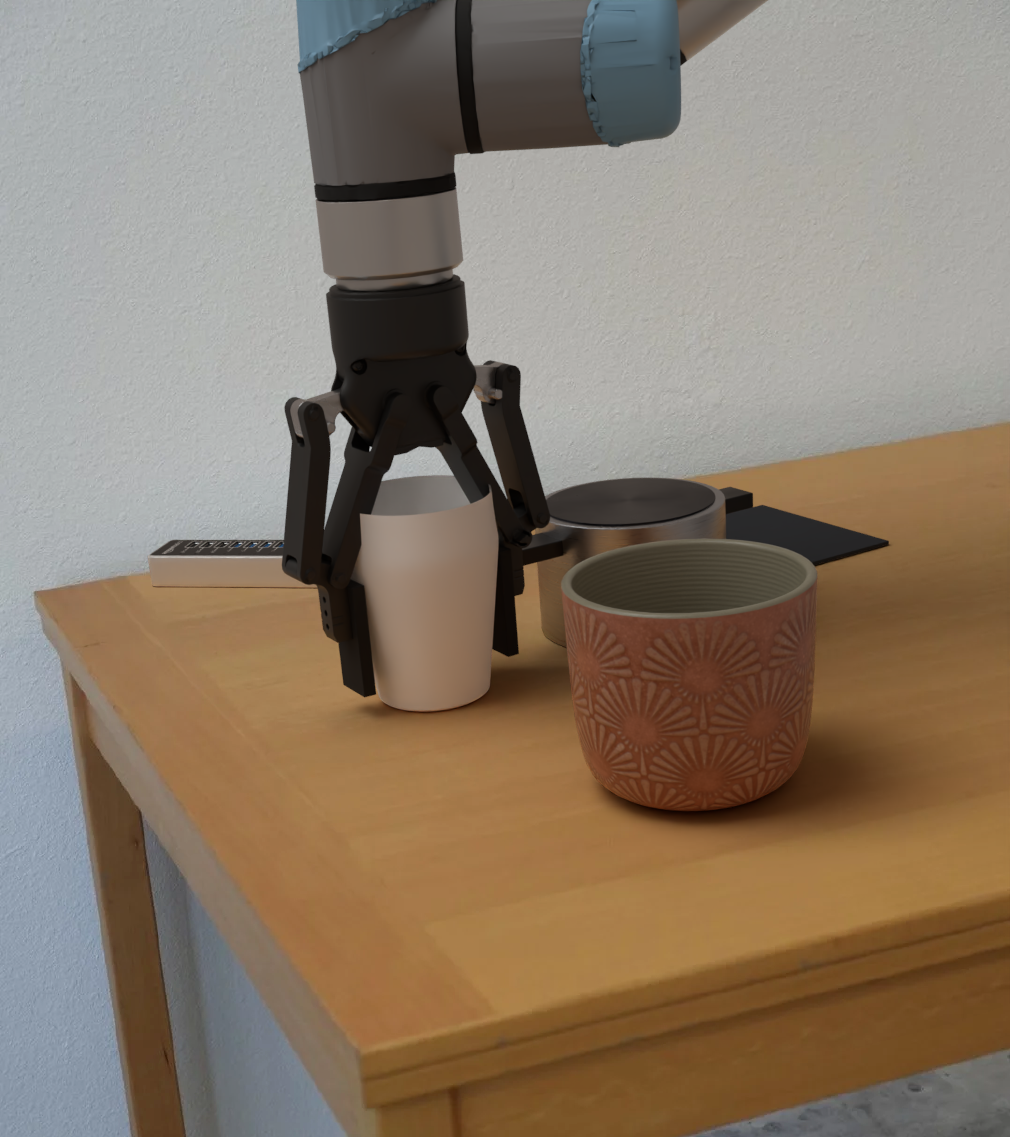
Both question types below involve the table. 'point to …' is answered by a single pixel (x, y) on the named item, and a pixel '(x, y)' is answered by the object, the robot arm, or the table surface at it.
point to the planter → (692, 669)
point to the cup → (429, 592)
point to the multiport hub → (220, 564)
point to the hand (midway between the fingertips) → (432, 669)
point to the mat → (798, 534)
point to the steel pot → (620, 527)
